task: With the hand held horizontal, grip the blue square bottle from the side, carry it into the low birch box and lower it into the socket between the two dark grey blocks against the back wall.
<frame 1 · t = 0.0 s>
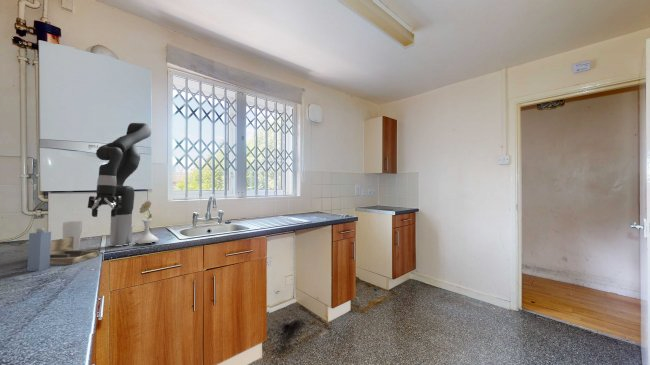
hand: (103, 216, 128), 17 cm above the worktop, tool pointing down, fingers open, 8 cm apart
drinking glass: (71, 253, 124), on the worktop
flower in vase: (146, 244, 145), on the worktop
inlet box: (71, 260, 110), on the worktop
blue square bottle: (38, 269, 97), on the worktop
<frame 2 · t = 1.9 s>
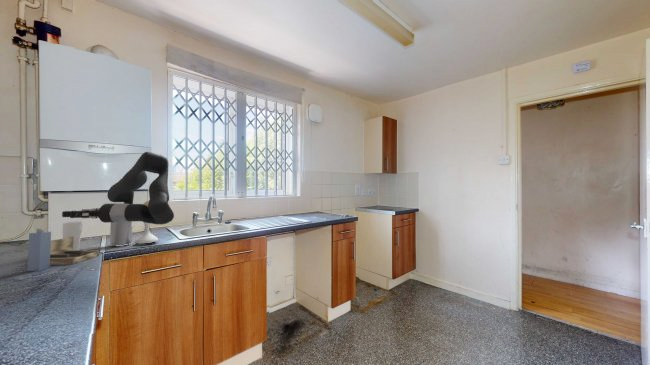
hand: (72, 213, 99), 21 cm above the worktop, tool horizontal, fingers open, 8 cm apart
nothing on the worktop moved.
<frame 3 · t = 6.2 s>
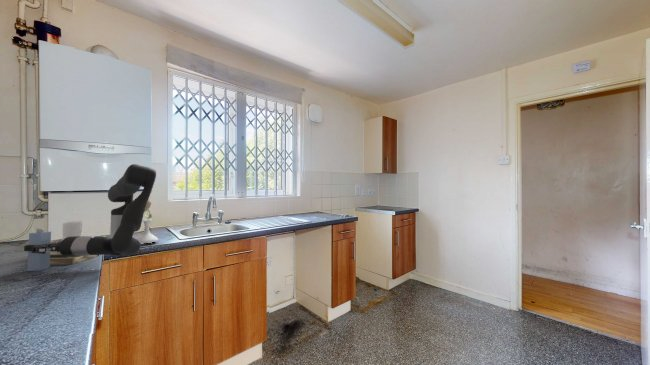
hand: (31, 246, 97), 9 cm above the worktop, tool horizontal, fingers closed on blue square bottle, 4 cm apart
blue square bottle: (38, 269, 97), on the worktop, touching gripper
everything else where it was.
when the fingers open (10 cm above the worktop, at t = 10.0 s): blue square bottle stays where it is, resting on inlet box.
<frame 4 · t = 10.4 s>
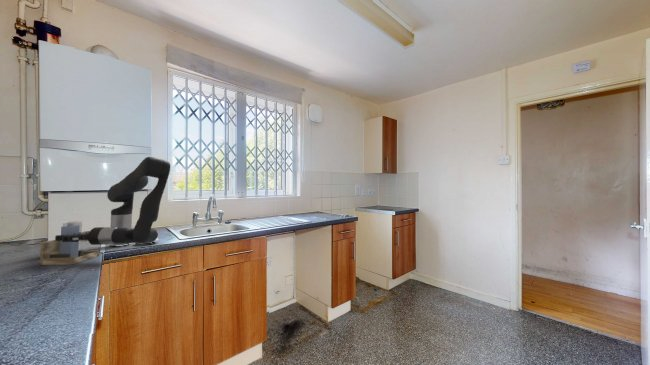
hand: (64, 236, 110), 10 cm above the worktop, tool horizontal, fingers open, 7 cm apart
blue square bottle: (69, 258, 110), point 1 cm above the worktop, touching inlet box
everything else where it was.
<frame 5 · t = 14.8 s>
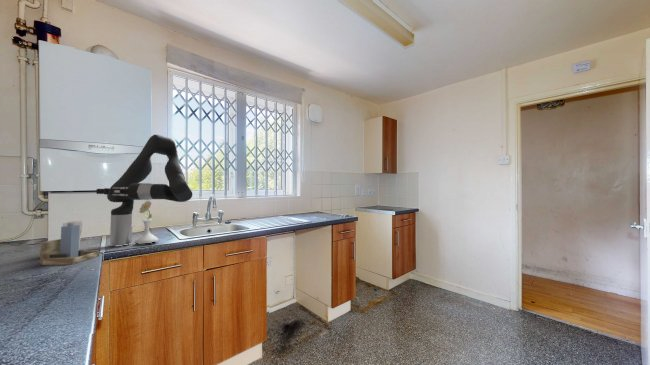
hand: (104, 191, 113), 30 cm above the worktop, tool horizontal, fingers open, 8 cm apart
nothing on the worktop moved.
at the end: blue square bottle 0.1 cm from the target spot on the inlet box, point 0.8 cm above the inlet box's base; blue square bottle tilted 0°; the gripper is holding nothing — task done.
